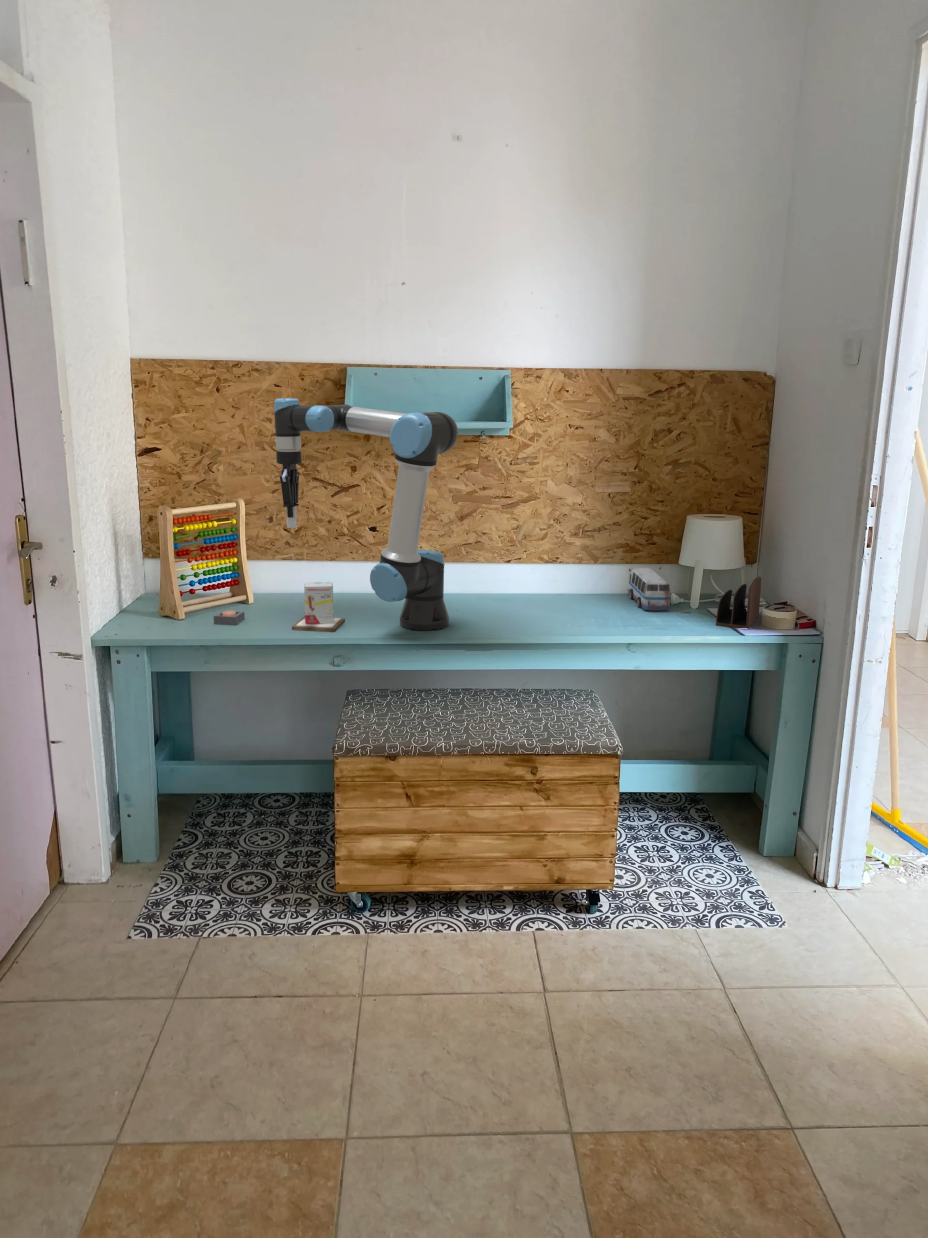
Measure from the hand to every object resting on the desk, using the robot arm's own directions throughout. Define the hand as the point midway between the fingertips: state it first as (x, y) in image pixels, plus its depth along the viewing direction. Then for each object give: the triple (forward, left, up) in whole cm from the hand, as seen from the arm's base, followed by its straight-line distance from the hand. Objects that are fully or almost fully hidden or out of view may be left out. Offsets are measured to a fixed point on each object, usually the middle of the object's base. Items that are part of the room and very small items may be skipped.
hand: (292, 527), depth 283 cm
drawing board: (-12, +13, -28) cm, 32 cm away
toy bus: (-112, -38, -28) cm, 122 cm away
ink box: (-12, +13, -27) cm, 32 cm away
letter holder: (-140, -20, -28) cm, 144 cm away
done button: (+16, +14, -27) cm, 34 cm away
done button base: (+16, +14, -28) cm, 35 cm away
